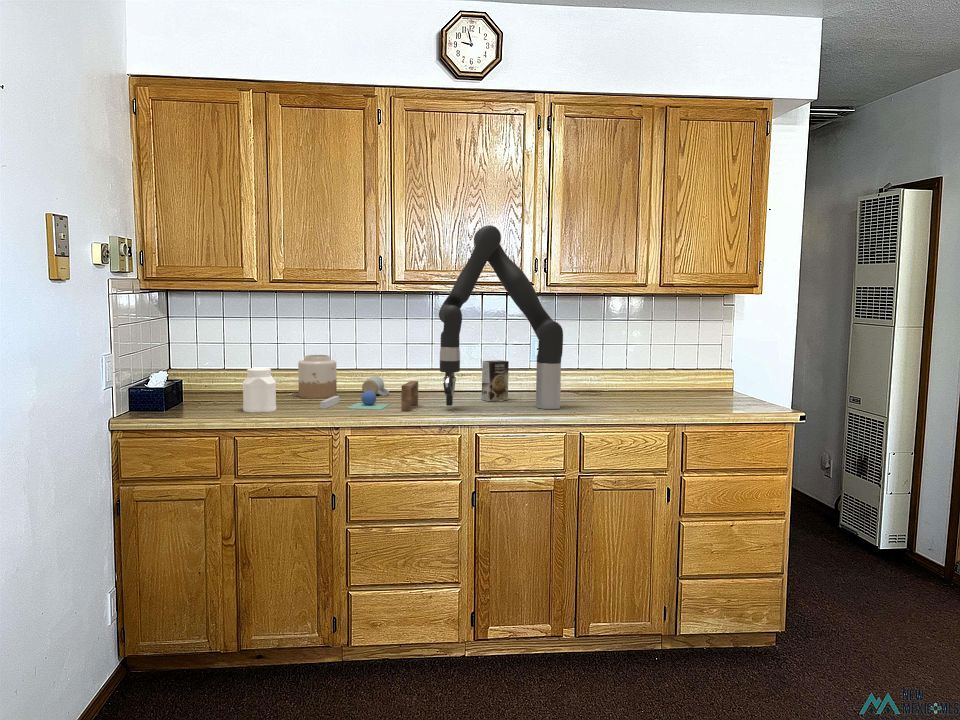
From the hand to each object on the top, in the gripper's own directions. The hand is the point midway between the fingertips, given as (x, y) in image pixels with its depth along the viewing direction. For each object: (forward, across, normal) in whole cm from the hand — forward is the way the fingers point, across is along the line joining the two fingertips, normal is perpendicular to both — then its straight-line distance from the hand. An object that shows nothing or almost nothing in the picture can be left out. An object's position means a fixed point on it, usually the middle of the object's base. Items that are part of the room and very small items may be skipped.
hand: (449, 405), depth 276 cm
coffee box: (+2, +26, -14) cm, 30 cm away
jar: (+2, -16, +67) cm, 69 cm away
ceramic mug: (+2, +30, +36) cm, 47 cm away
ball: (-1, +3, +32) cm, 32 cm away
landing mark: (+2, 0, +31) cm, 31 cm away
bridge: (+2, 0, +15) cm, 15 cm away
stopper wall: (+2, 0, +46) cm, 46 cm away
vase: (+2, +22, +59) cm, 63 cm away
